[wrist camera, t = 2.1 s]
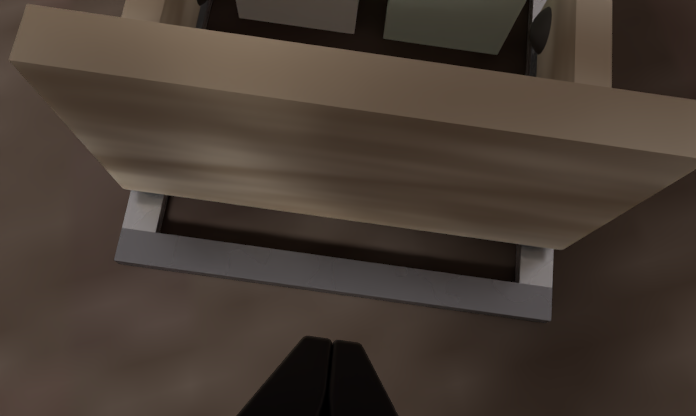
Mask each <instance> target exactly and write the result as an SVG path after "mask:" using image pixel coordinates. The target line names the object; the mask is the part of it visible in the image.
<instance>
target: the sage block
mask: <svg viewBox="0 0 696 416" xmlns="http://www.w3.org/2000/svg"><path fill="white" fill-rule="evenodd" d="M526 1H527V0H388V3H387V11H386V19H385V26H384V34H383V39H389V40H396V41H403V42H410V43H417V44H424V45H431V46H438V47H445V48H451V49H458V50H465V51H472V52H479V53H486V54H493V55H498V53H499V51H500V49H501V47H502V45H503V44H504V42H505V40H506V38H507V36H508V34H509V32H510V30H511V29H512V27H513V25H514V23H515V21H516V19H517V17H518V16H519V14H520V12H521V10H522V8H523V6H524V4H525V2H526Z"/></svg>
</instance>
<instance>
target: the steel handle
mask: <svg viewBox="0 0 696 416" xmlns="http://www.w3.org/2000/svg"><path fill="white" fill-rule="evenodd" d="M212 1H213V0H208V1H207V2H205V3H204V4H203V5H201V7H200V11H199V16H198V20H197V24H196V28H198V29H205V30H206V28H207V23H208V19H209V15H210V10H211V6H212ZM546 1H547V0H529V13H528V33H527V52H526V72H525V75H526V76H533V77H536V73H537V53H536V52H535V51H534V49H533V48H532V46H531V42H530V28H531V25H532V22H533V20H534V19H535V17H536V16H537V15H538V14H539V13H540V11H541V9H542V8H543V6H544V4H545V3H546ZM168 196H169V195H164V194H157V193H150V192H142V191H135V190H131V193H130V197H129V201H128V205H127V209H126V214H125V218H124V222H123V226H122V230H121V234H120V238H119V242H118V246H117V250H116V254H115V258H114V261H116V262H117V263H118V264H123V265H130V266H137V267H145V268H152V269H159V270H166V271H173V272H181V273H188V274H195V275H202V276H210V277H217V278H224V279H231V280H239V281H246V282H253V283H260V284H267V285H275V286H282V287H289V288H296V289H304V290H311V291H318V292H325V293H332V294H340V295H347V296H354V297H361V298H369V299H376V300H383V301H390V302H397V303H405V304H412V305H419V306H426V307H434V308H441V309H448V310H455V311H463V312H470V313H477V314H484V315H491V316H499V317H506V318H513V319H520V320H528V321H535V322H542V323H547V322H550V321H551V312H552V282H553V253H554V249H549V248H542V247H535V246H528V245H521V244H517V246H516V265H515V282H508V281H501V280H493V279H486V278H479V277H472V276H465V275H457V274H450V273H443V272H436V271H429V270H421V269H414V268H407V267H400V266H393V265H386V264H378V263H371V262H364V261H357V260H350V259H342V258H335V257H328V256H321V255H314V254H307V253H299V252H292V251H285V250H278V249H271V248H263V247H256V246H249V245H242V244H235V243H227V242H220V241H213V240H206V239H199V238H192V237H184V236H177V235H170V234H163V233H160V231H161V227H162V222H163V218H164V213H165V209H166V205H167V200H168Z"/></svg>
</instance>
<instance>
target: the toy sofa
mask: <svg viewBox="0 0 696 416" xmlns="http://www.w3.org/2000/svg"><path fill="white" fill-rule="evenodd" d="M207 1H208V0H126V1H125V5H124V9H123V12H122V16H121V17H115V16H108V15H101V14H94V13H87V12H80V11H73V10H66V9H59V8H52V7H45V6H38V5H31V4H27V6H26V9H25V12H24V15H23V18H22V21H21V24H20V27H19V30H18V33H17V36H16V39H15V42H14V45H13V48H12V51H11V54H10V57H9V61H10V62H11V63H12V64H13V65H14V67H15V68H16V69H17V70H18V71H19V72H20V73H21V74H22V76H23V77H24V78H25V79H26V80H27V81H28V82H29V83H30V85H31V86H32V87H33V88H34V89H35V90H36V91H37V92H38V94H39V95H40V96H41V97H42V98H43V99H44V100H45V101H46V103H47V104H48V105H49V106H50V107H51V108H52V109H53V110H54V112H55V113H56V114H57V115H58V116H59V117H60V118H61V119H62V121H63V122H64V123H65V124H66V125H67V126H68V127H69V128H70V130H71V131H72V132H73V133H74V134H75V135H76V136H77V137H78V139H79V140H80V141H81V142H82V143H83V144H84V145H85V146H86V148H87V149H88V150H89V151H90V152H91V153H92V154H93V155H94V157H95V158H96V159H97V160H98V161H99V162H100V163H101V164H102V166H103V167H104V168H105V169H106V170H107V171H108V172H109V173H110V175H111V176H112V177H113V178H114V179H115V180H116V181H117V182H118V184H119V185H120V186H121V187H122V188H123V189H128V190H135V191H142V192H150V193H157V194H164V195H171V196H178V197H185V198H192V199H200V200H207V201H214V202H221V203H228V204H235V205H242V206H250V207H257V208H264V209H271V210H278V211H285V212H292V213H300V214H307V215H314V216H321V217H328V218H335V219H342V220H350V221H357V222H364V223H371V224H378V225H385V226H392V227H400V228H407V229H414V230H421V231H428V232H435V233H442V234H450V235H457V236H464V237H471V238H478V239H485V240H492V241H500V242H507V243H514V244H521V245H528V246H535V247H542V248H549V249H557V250H563V249H565V248H567V247H568V246H570V245H572V244H573V243H575V242H577V241H578V240H580V239H581V238H583V237H585V236H586V235H588V234H590V233H591V232H593V231H595V230H596V229H598V228H600V227H601V226H603V225H605V224H606V223H608V222H610V221H611V220H613V219H615V218H616V217H618V216H619V215H621V214H623V213H624V212H626V211H628V210H629V209H631V208H633V207H634V206H636V205H638V204H639V203H641V202H643V201H644V200H646V199H648V198H649V197H651V196H653V195H654V194H656V193H657V192H659V191H661V190H662V189H664V188H666V187H667V186H669V185H671V184H672V183H674V182H676V181H677V180H679V179H681V178H682V177H684V176H686V175H687V174H689V173H691V172H692V171H694V170H696V100H693V99H686V98H679V97H672V96H665V95H658V94H651V93H644V92H637V91H630V90H623V89H616V88H612V0H547V1H546V3H545V4H544V6H543V8H542V9H541V11H540V13H539V14H538V15H537V16H536V17H535V19H534V20H533V22H532V25H531V28H530V42H531V46H532V48H533V49H534V51H535V52H536V53H537V73H536V77H533V76H526V75H519V74H512V73H505V72H498V71H491V70H484V69H477V68H470V67H463V66H456V65H449V64H442V63H435V62H428V61H421V60H414V59H407V58H400V57H393V56H386V55H379V54H372V53H366V52H359V51H352V50H345V49H338V48H331V47H324V46H317V45H310V44H303V43H296V42H289V41H282V40H275V39H268V38H261V37H254V36H247V35H240V34H233V33H226V32H219V31H212V30H205V29H198V28H196V24H197V20H198V16H199V11H200V7H201V5H203V4H204V3H205V2H207Z"/></svg>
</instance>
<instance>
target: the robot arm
mask: <svg viewBox="0 0 696 416" xmlns="http://www.w3.org/2000/svg"><path fill="white" fill-rule="evenodd" d="M237 416H398V414H397V412H396V410H395V408H394V406H393V404H392V402H391V400H390V398H389V397H388V395H387V393H386V391H385V389H384V387H383V385H382V383H381V381H380V379H379V377H378V375H377V373H376V371H375V369H374V368H373V366H372V364H371V362H370V360H369V358H368V356H367V354H366V352H365V350H364V348H363V347H362V345H361V344H360V343H357V342H350V341H343V340H335V341H334V342H333V344H332V342H331V340H330V339H328V338H321V337H313V336H305V337H303V338H302V339H301V340H300V341H299V343H298V344H297V345H296V346H295V347H294V349H293V350H292V351H291V352H290V353H289V354H288V356H287V357H286V358H285V359H284V360H283V361H282V363H281V364H280V365H279V366H278V367H277V369H276V370H275V371H274V372H273V373H272V374H271V376H270V377H269V378H268V379H267V380H266V381H265V383H264V384H263V385H262V386H261V387H260V389H259V390H258V391H257V392H256V393H255V394H254V396H253V397H252V398H251V399H250V400H249V401H248V403H247V404H246V405H245V406H244V407H243V409H242V410H241V411H240V412H239V413H238V414H237Z"/></svg>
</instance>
